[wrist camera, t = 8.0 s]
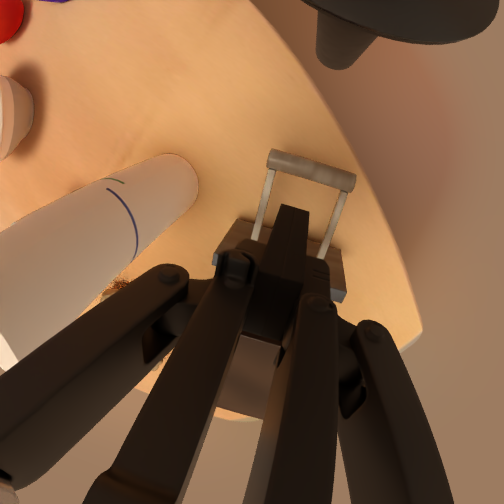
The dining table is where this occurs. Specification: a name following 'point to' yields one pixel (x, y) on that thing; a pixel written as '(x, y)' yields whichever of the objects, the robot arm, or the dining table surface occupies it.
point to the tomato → (10, 18)
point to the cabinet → (250, 376)
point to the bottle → (54, 0)
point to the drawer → (323, 251)
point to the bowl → (14, 115)
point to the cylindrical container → (83, 248)
